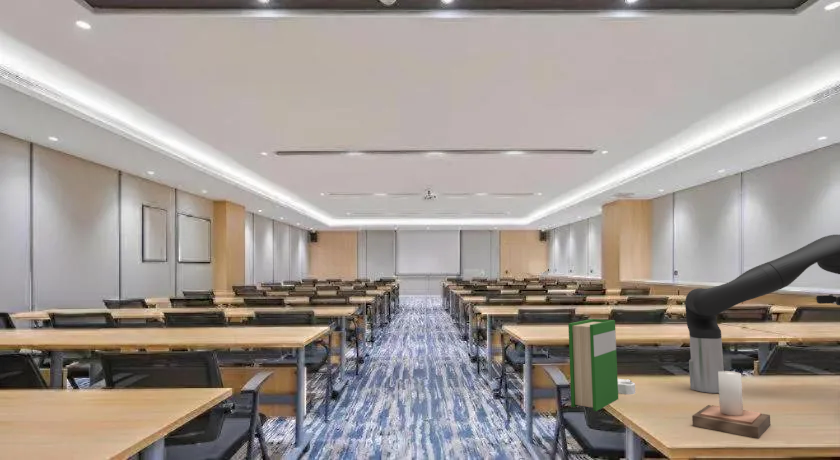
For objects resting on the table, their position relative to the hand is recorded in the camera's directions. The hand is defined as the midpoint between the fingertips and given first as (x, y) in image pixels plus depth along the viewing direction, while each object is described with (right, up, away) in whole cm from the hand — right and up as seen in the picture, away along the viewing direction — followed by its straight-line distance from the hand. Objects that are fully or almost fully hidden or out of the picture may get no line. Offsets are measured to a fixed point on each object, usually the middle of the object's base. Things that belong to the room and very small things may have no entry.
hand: (826, 300), depth 136 cm
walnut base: (-33, -30, -11) cm, 46 cm away
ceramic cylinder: (-33, -27, -11) cm, 44 cm away
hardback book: (-60, -33, +12) cm, 69 cm away
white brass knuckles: (-49, -35, +30) cm, 67 cm away
